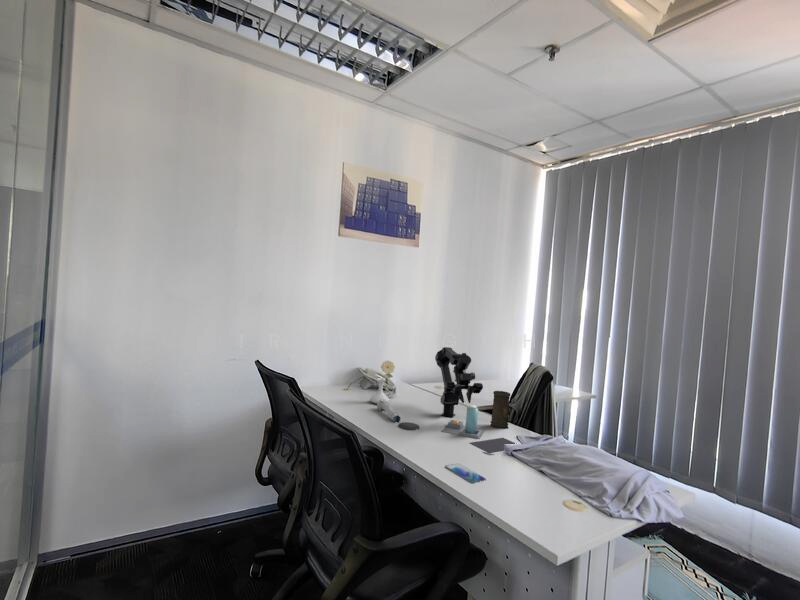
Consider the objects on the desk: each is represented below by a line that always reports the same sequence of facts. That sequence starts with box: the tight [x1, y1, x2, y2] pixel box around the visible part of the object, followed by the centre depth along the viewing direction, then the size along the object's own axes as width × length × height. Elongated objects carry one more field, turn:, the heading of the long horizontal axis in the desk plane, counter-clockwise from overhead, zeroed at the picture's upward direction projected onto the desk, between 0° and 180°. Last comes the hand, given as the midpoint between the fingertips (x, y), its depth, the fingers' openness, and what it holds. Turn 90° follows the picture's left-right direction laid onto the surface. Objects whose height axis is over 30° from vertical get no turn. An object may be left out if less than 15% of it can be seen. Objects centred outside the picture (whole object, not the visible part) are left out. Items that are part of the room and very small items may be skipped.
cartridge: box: [464, 404, 479, 435], centre depth 194 cm, size 5×5×13 cm
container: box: [489, 390, 511, 430], centre depth 210 cm, size 9×9×18 cm
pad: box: [398, 421, 420, 431], centre depth 200 cm, size 10×10×1 cm
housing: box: [440, 419, 486, 440], centre depth 198 cm, size 16×18×3 cm
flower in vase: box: [369, 359, 396, 405], centre depth 241 cm, size 13×11×25 cm
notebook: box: [468, 437, 516, 456], centre depth 181 cm, size 13×2×21 cm
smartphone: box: [444, 463, 487, 484], centre depth 151 cm, size 7×1×15 cm
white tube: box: [376, 399, 401, 423], centre depth 217 cm, size 5×7×25 cm
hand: (466, 402), depth 201 cm, fingers open, 3 cm apart
